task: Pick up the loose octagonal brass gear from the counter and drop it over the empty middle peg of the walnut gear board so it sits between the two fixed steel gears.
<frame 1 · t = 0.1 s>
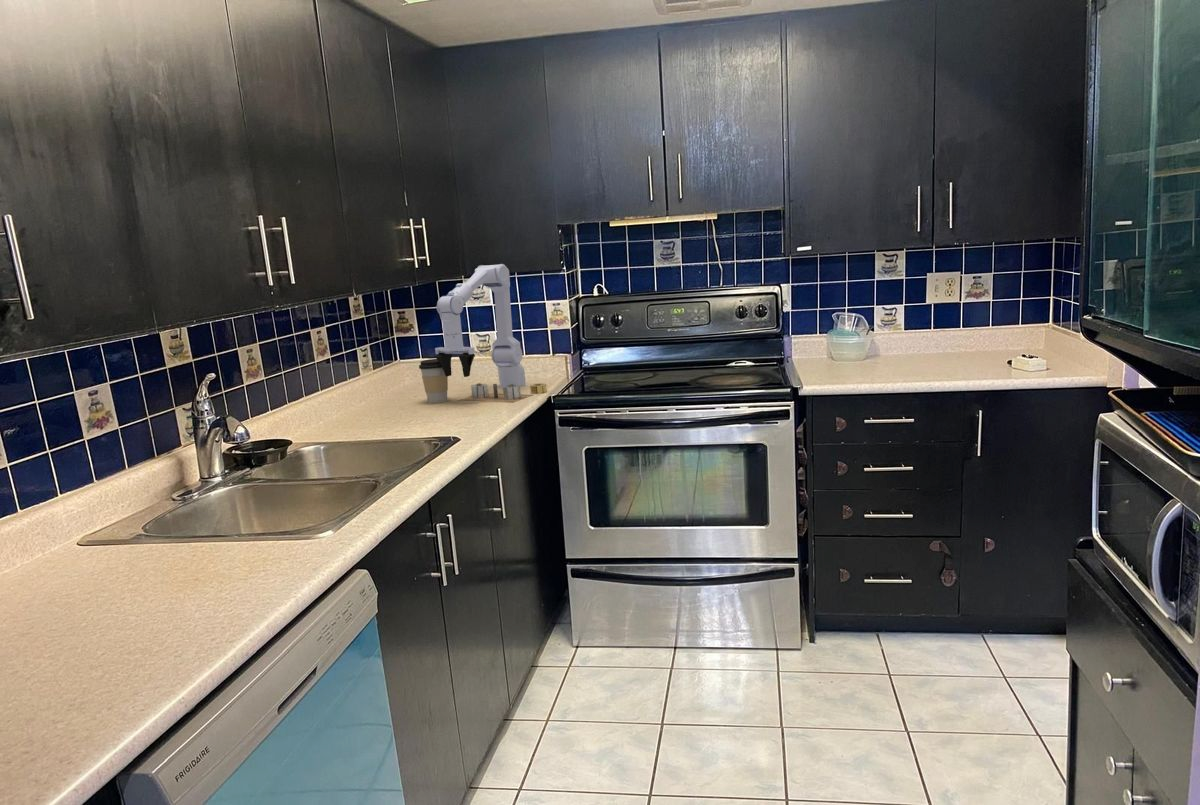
hand: (457, 376, 261), 10 cm above the countertop, fingers open, 7 cm apart
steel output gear: (512, 398, 263), resting on gear board
coffee cup: (438, 406, 268), on the countertop
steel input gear: (480, 397, 269), resting on gear board
brass gear: (539, 396, 270), on the countertop
gear board: (496, 402, 266), on the countertop
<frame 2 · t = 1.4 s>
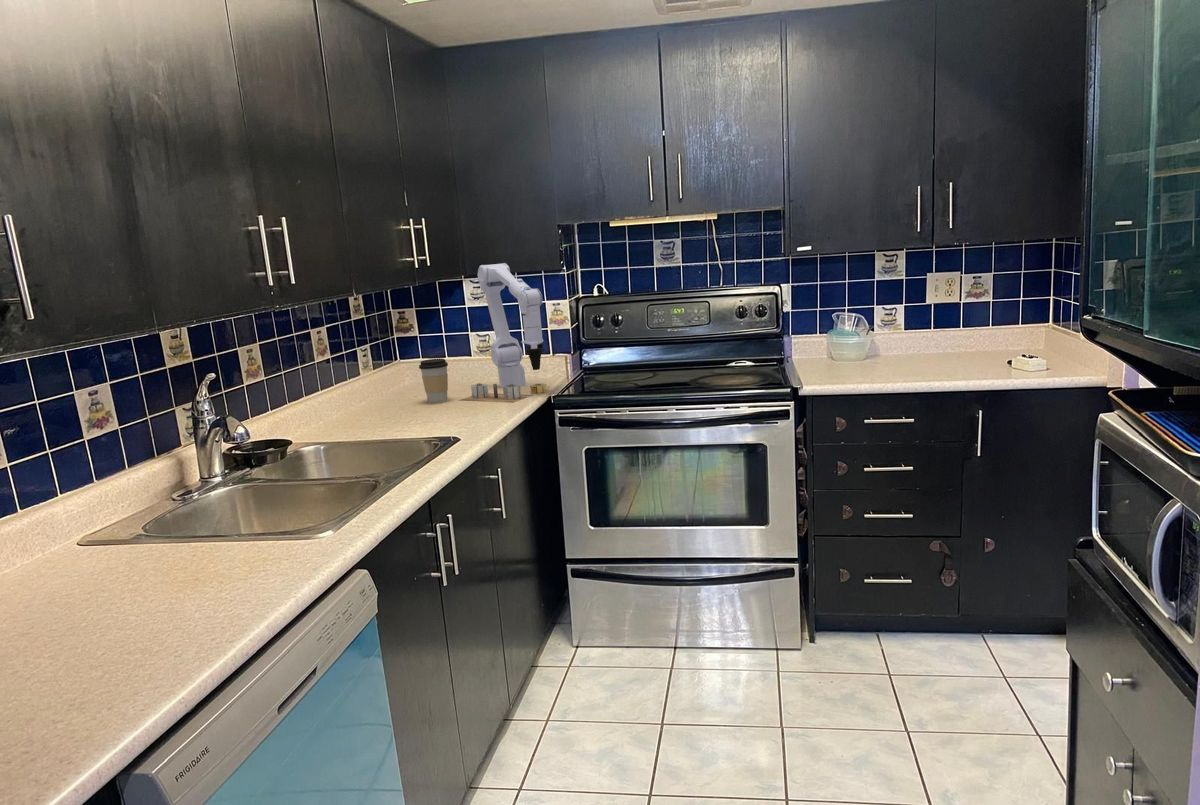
hand: (536, 368, 268), 10 cm above the countertop, fingers open, 7 cm apart
nothing on the countertop moved.
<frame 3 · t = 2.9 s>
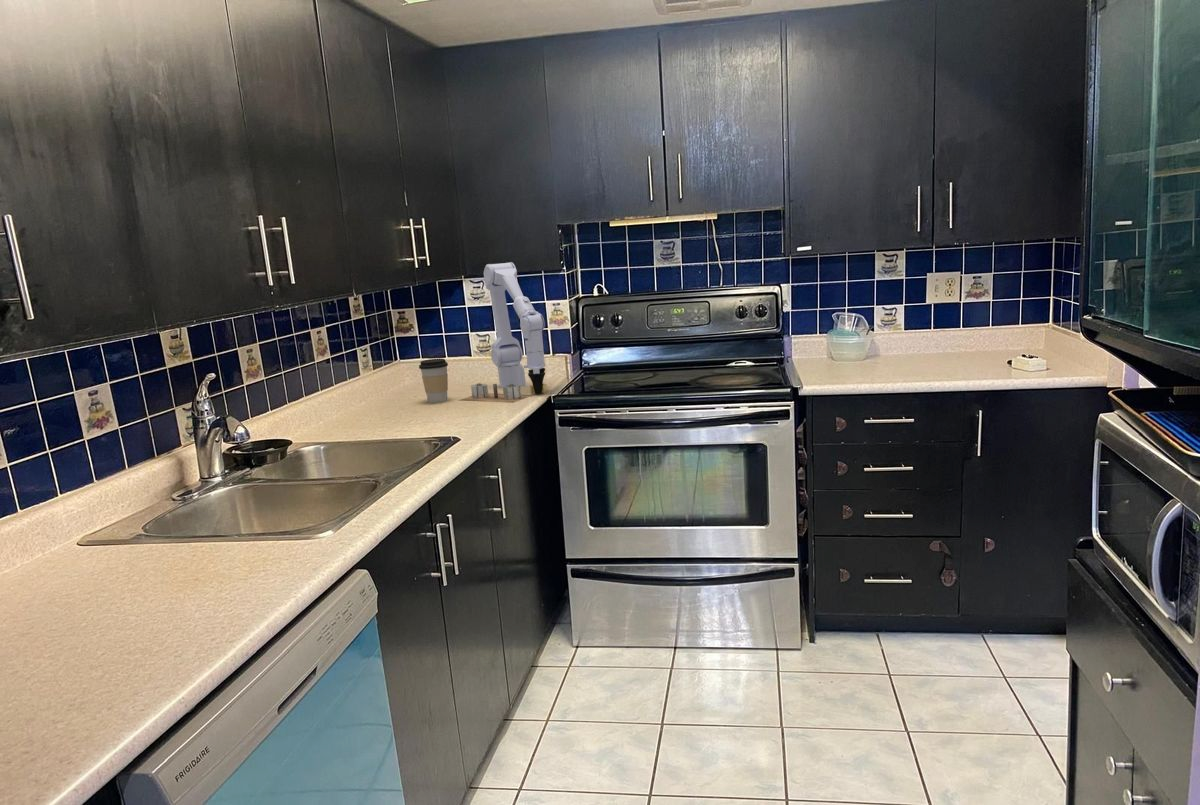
hand: (538, 392, 270), 2 cm above the countertop, fingers closed on brass gear, 5 cm apart
brass gear: (539, 396, 270), on the countertop, touching gripper
everything else where it was.
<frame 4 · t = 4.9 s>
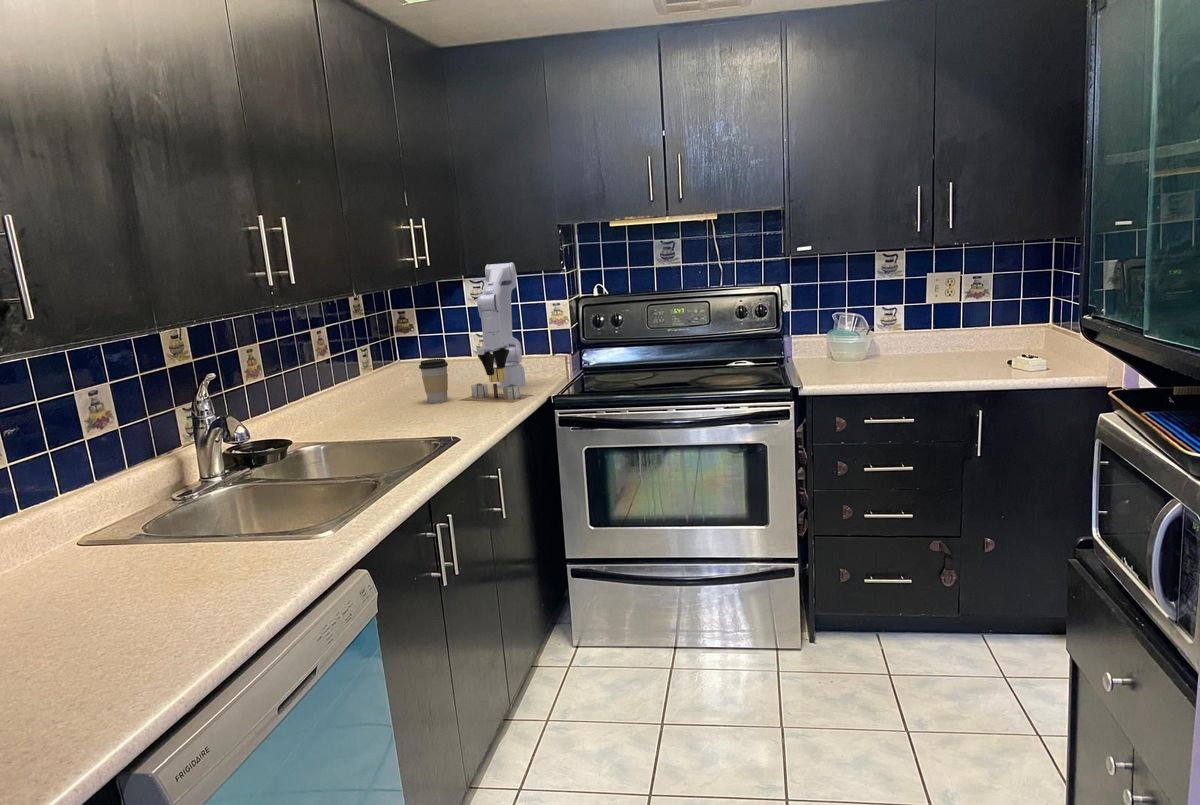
hand: (495, 373, 265), 9 cm above the countertop, fingers closed on brass gear, 5 cm apart
brass gear: (497, 380, 265), point 7 cm above the countertop, touching gripper
everything else where it was.
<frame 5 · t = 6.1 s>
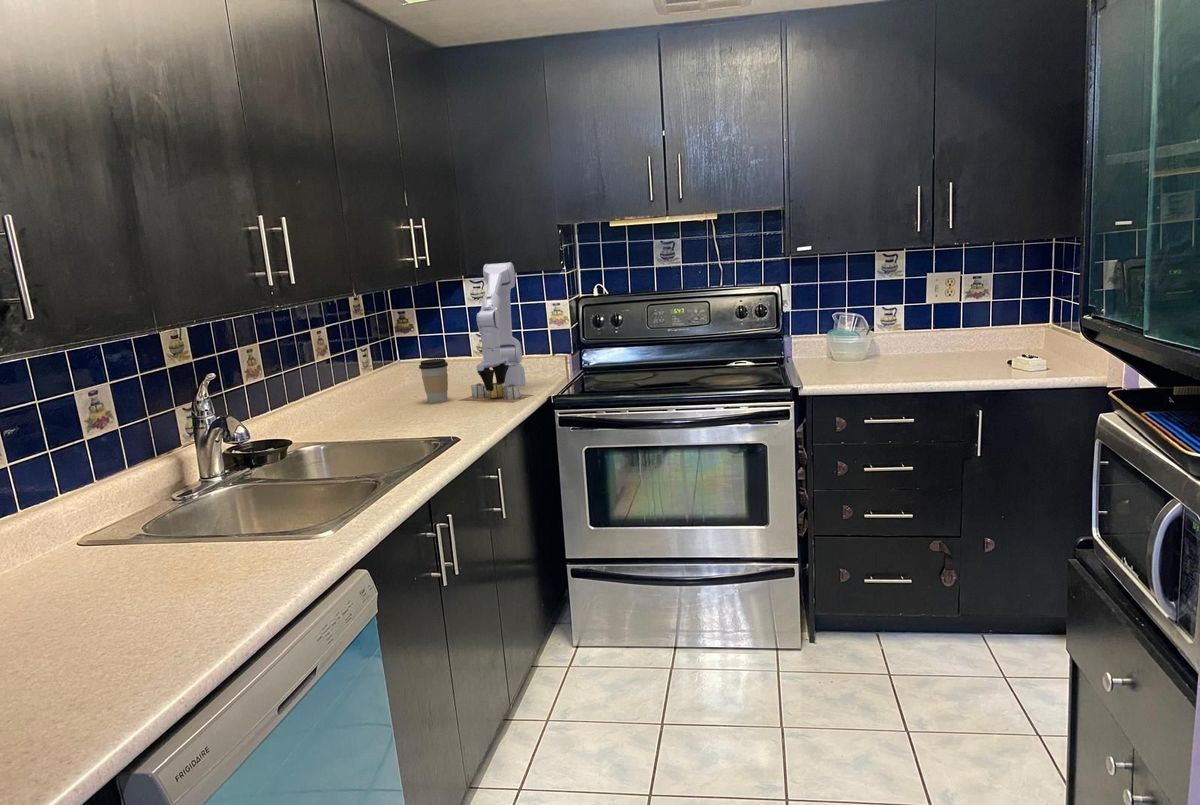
hand: (495, 388, 265), 4 cm above the countertop, fingers closed on brass gear, 5 cm apart
brass gear: (497, 395, 266), point 2 cm above the countertop, touching gripper
everything else where it was.
when the fingers open (4 cm above the countertop, at t = 6.9 s): brass gear stays where it is, resting on gear board.
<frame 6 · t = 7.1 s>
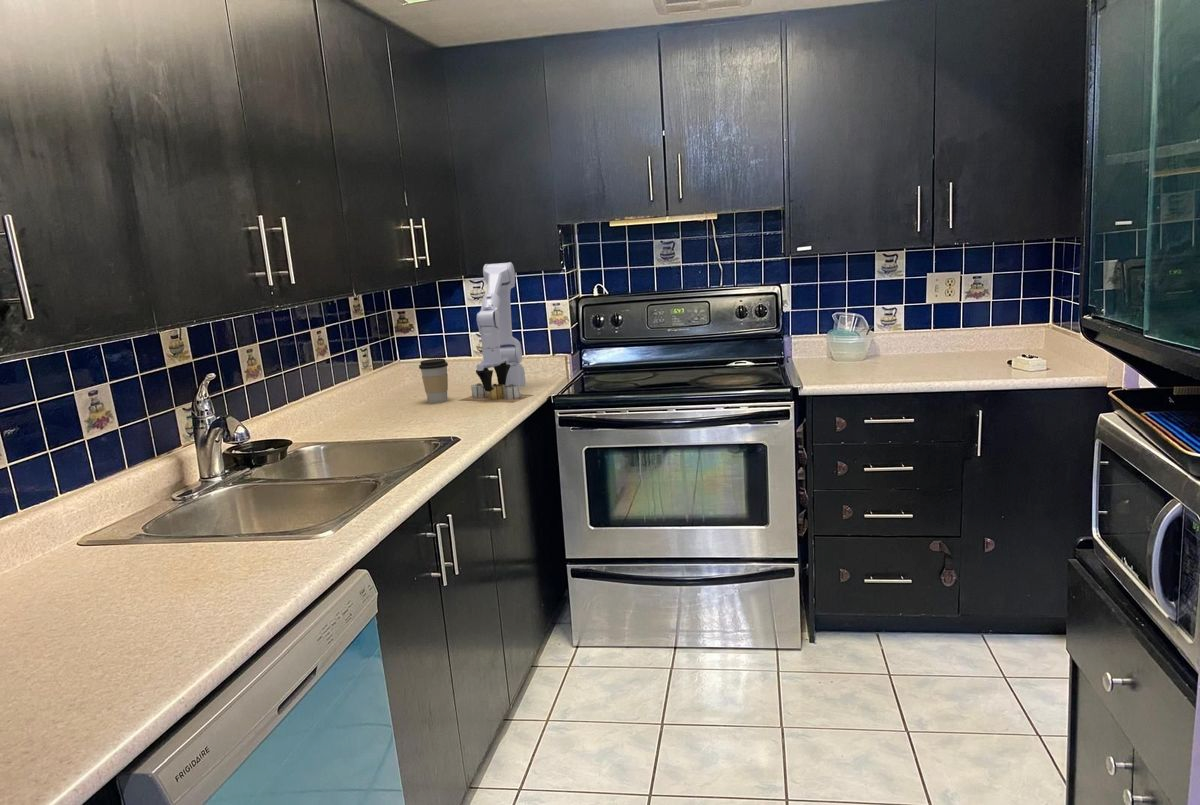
hand: (495, 388, 265), 4 cm above the countertop, fingers open, 7 cm apart
brass gear: (497, 397, 266), point 1 cm above the countertop, touching gear board
everything else where it was.
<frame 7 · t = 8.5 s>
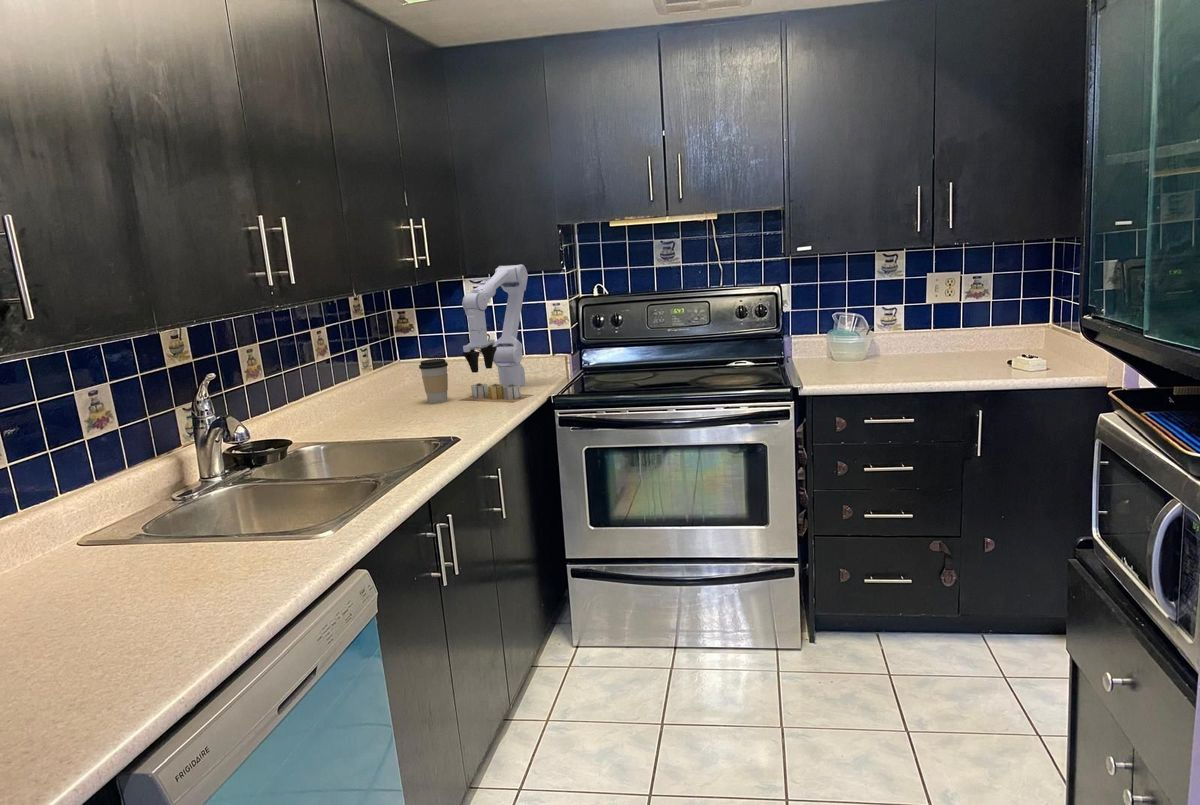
hand: (482, 370, 270), 10 cm above the countertop, fingers open, 7 cm apart
nothing on the countertop moved.
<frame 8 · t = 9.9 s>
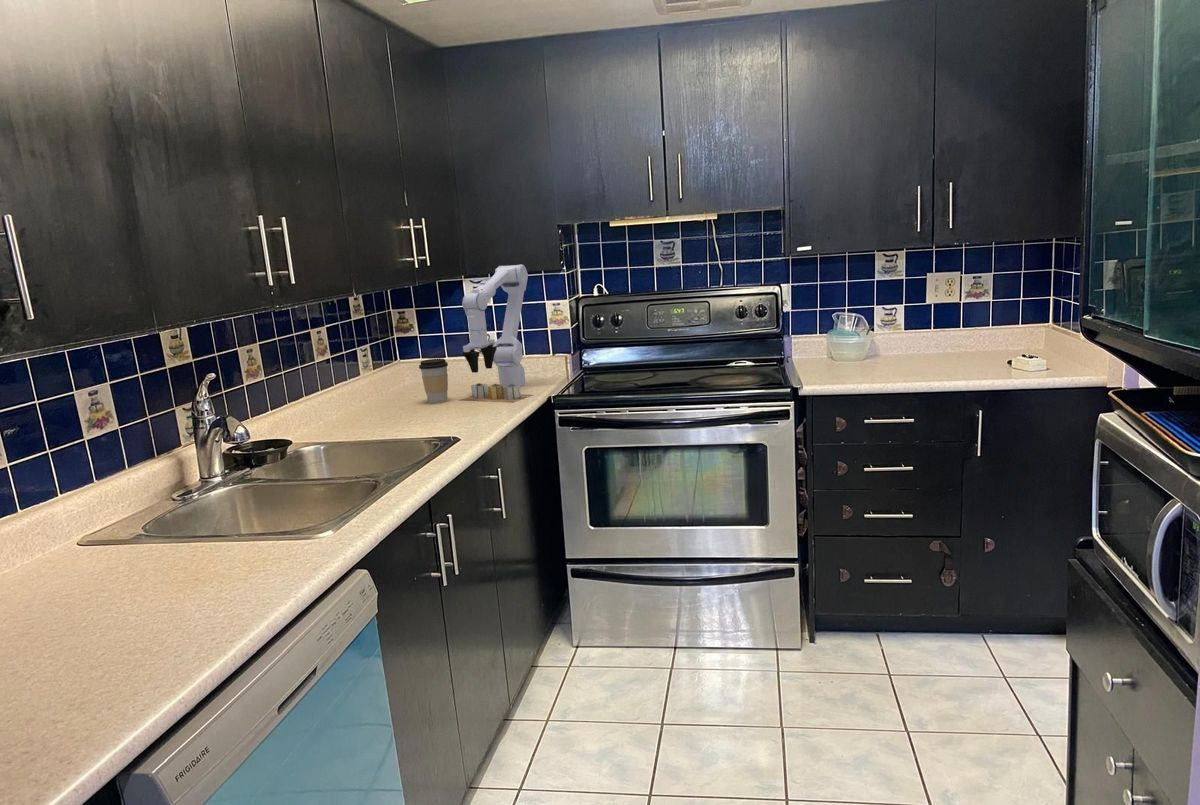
hand: (482, 370, 270), 10 cm above the countertop, fingers open, 7 cm apart
nothing on the countertop moved.
at the end: brass gear 0.5 cm from the target spot, point 1.5 cm above the countertop; brass gear tilted 0°; the gripper is holding nothing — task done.
